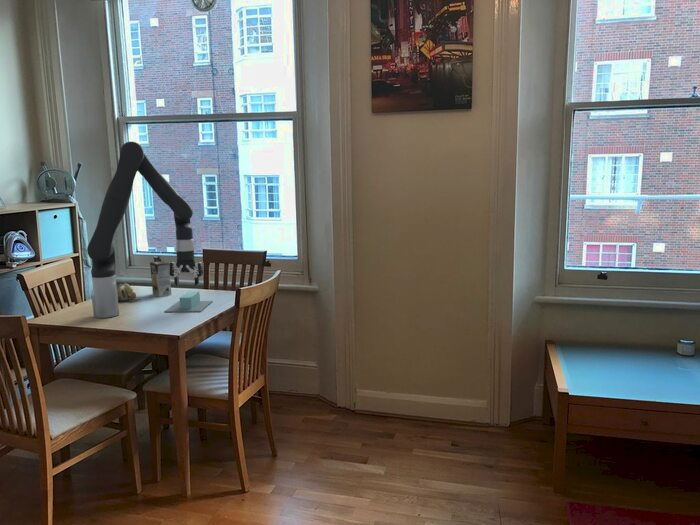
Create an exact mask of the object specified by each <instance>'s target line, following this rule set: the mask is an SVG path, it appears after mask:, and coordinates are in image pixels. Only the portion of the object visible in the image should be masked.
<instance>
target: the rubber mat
mask: <svg viewBox="0 0 700 525" xmlns="http://www.w3.org/2000/svg"><path fill="white" fill-rule="evenodd" d="M212 303H214V300H200V302H199V303H198V304H197V305H196V306H194V307H193V308H192V309H180V300H178V301H176V302H175V303H174V304H172V305H171V306H170V307H168V308H167V309H166V310H164V311H163V312H164V313H201V312H203V311H204V310H205V309H206V308H207V307H208V306H210V305H211V304H212Z"/></svg>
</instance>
